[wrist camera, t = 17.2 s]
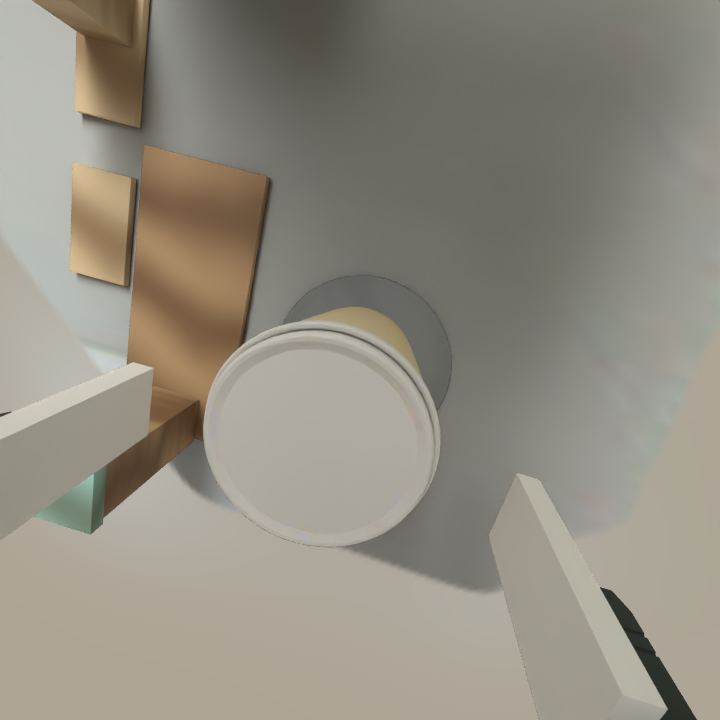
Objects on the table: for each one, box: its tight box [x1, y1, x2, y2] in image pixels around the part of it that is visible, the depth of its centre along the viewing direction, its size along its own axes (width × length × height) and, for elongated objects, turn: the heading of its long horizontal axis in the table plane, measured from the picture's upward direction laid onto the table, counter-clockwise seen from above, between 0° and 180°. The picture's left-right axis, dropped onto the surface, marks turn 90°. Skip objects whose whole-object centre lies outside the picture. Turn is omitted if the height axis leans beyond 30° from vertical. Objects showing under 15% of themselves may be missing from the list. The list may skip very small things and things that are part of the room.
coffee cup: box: [203, 307, 441, 547], centre depth 20 cm, size 9×9×12 cm
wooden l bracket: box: [34, 145, 270, 534], centre depth 21 cm, size 19×8×10 cm, turn 166°
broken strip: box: [32, 0, 150, 286], centre depth 19 cm, size 17×4×10 cm, turn 166°
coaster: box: [283, 276, 451, 411], centre depth 26 cm, size 12×12×1 cm
